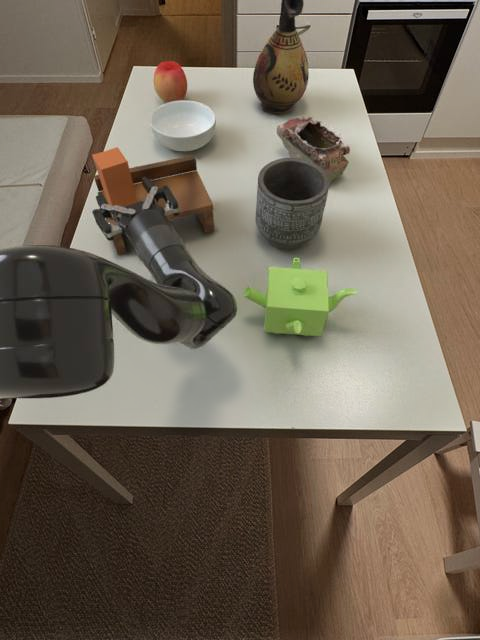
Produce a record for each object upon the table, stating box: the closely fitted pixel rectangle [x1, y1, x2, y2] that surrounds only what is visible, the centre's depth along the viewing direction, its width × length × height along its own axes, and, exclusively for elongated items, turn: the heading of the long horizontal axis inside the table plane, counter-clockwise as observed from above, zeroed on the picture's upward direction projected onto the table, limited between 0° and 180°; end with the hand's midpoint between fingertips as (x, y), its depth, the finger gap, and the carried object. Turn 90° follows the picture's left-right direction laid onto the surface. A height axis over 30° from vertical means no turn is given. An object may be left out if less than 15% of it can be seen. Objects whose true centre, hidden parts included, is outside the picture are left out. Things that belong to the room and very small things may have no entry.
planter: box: [255, 157, 331, 251], centre depth 87 cm, size 14×14×15 cm
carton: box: [91, 146, 137, 215], centre depth 81 cm, size 5×5×12 cm
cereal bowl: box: [149, 99, 217, 152], centre depth 109 cm, size 17×17×7 cm
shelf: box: [93, 154, 215, 255], centre depth 90 cm, size 22×14×11 cm, turn 110°
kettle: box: [242, 257, 358, 337], centre depth 76 cm, size 15×14×11 cm
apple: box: [153, 60, 188, 103], centre depth 119 cm, size 10×10×10 cm
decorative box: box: [276, 115, 351, 183], centre depth 103 cm, size 13×20×10 cm, turn 28°
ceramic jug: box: [252, 0, 310, 116], centre depth 110 cm, size 17×15×30 cm
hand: (122, 188), depth 77 cm, fingers open, 8 cm apart
